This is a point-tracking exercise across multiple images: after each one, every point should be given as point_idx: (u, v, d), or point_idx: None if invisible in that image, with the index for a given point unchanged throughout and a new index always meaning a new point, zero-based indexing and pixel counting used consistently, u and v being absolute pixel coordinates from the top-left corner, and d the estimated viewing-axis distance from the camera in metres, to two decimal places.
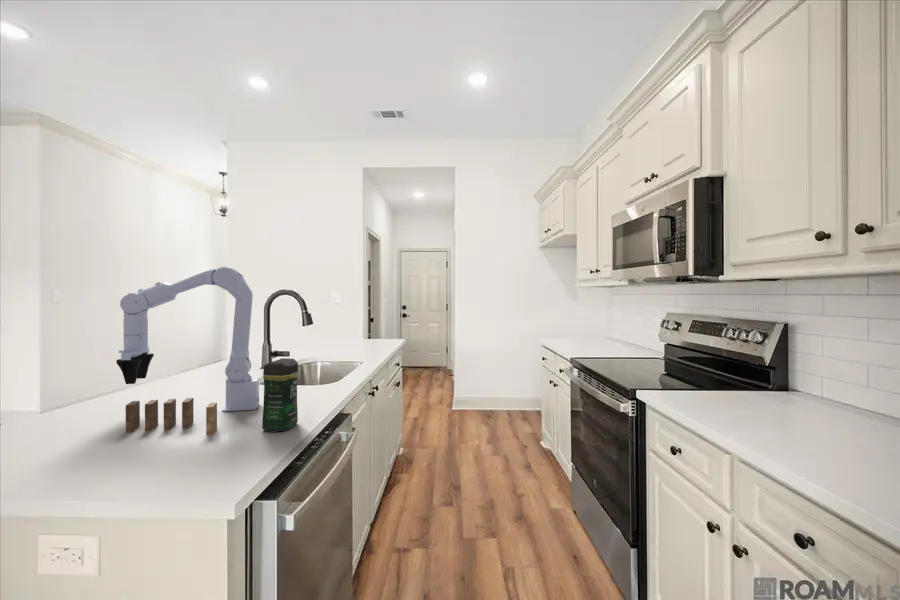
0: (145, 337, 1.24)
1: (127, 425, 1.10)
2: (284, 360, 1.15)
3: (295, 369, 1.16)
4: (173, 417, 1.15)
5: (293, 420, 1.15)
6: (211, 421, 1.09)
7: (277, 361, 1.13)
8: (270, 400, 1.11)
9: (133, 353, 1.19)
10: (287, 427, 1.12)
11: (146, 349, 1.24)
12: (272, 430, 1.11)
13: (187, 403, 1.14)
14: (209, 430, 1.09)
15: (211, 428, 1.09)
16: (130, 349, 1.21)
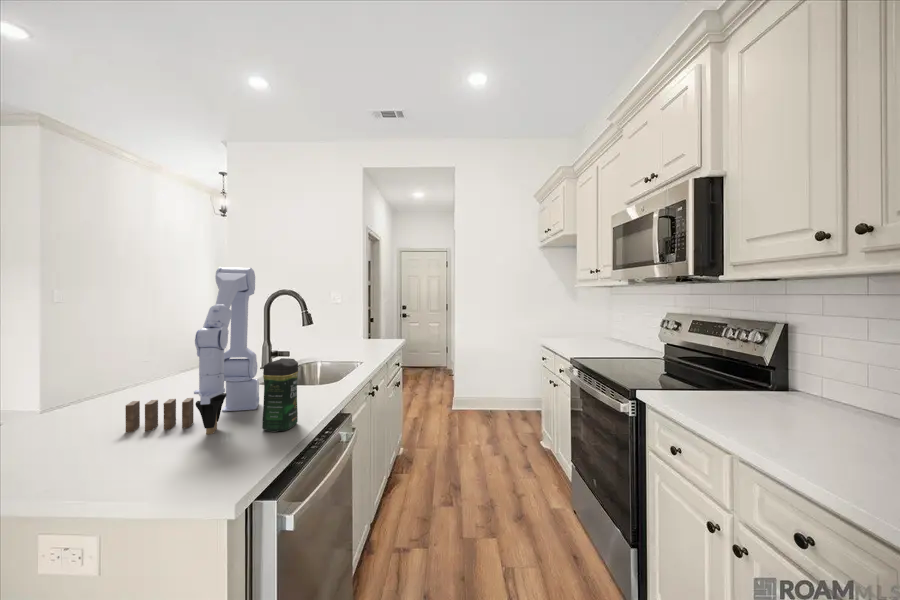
0: (222, 376, 1.11)
1: (127, 425, 1.10)
2: (284, 360, 1.15)
3: (295, 369, 1.16)
4: (173, 417, 1.15)
5: (293, 420, 1.15)
6: None
7: (277, 361, 1.13)
8: (270, 400, 1.11)
9: (212, 396, 1.06)
10: (287, 427, 1.12)
11: (223, 389, 1.11)
12: (272, 430, 1.11)
13: (187, 403, 1.14)
14: (209, 430, 1.09)
15: (211, 428, 1.09)
16: (207, 390, 1.08)
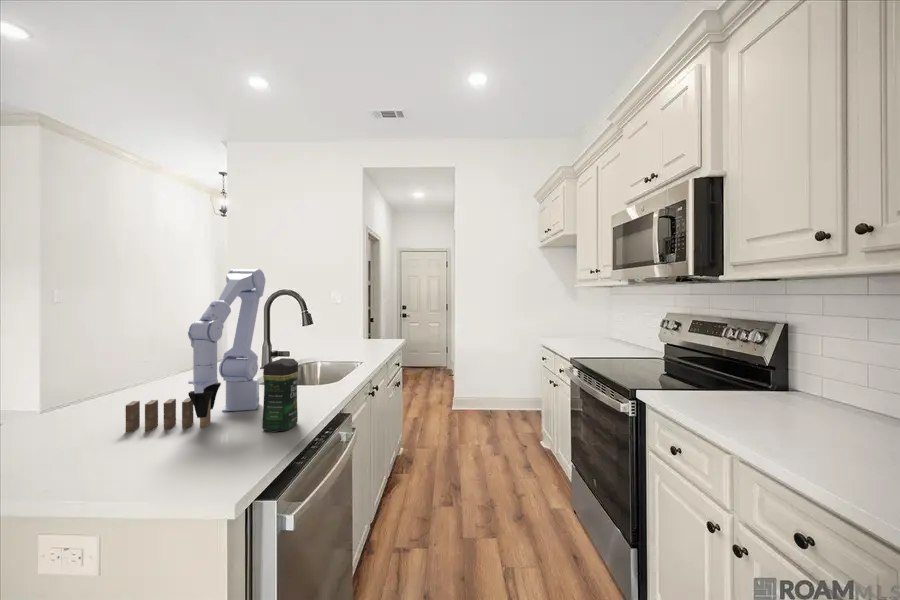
0: (215, 367, 1.17)
1: (127, 425, 1.10)
2: (284, 360, 1.15)
3: (295, 369, 1.16)
4: (173, 417, 1.15)
5: (293, 420, 1.15)
6: None
7: (277, 361, 1.13)
8: (270, 400, 1.11)
9: (205, 385, 1.12)
10: (287, 427, 1.12)
11: (216, 379, 1.17)
12: (272, 430, 1.11)
13: (187, 403, 1.14)
14: (203, 423, 1.15)
15: (204, 421, 1.15)
16: (201, 380, 1.14)
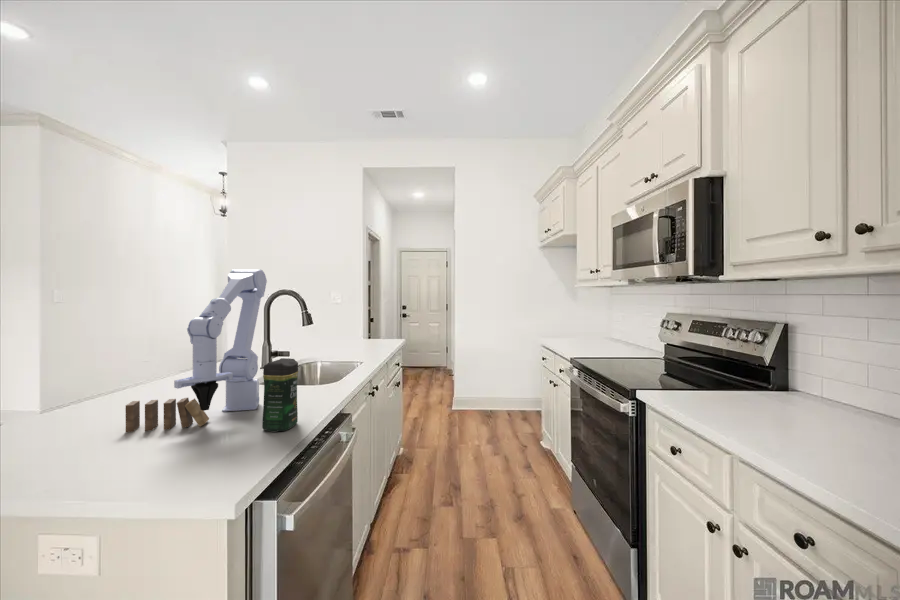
0: (206, 364, 1.15)
1: (127, 425, 1.10)
2: (284, 360, 1.15)
3: (295, 369, 1.16)
4: (173, 417, 1.15)
5: (293, 420, 1.15)
6: (197, 414, 1.15)
7: (277, 361, 1.13)
8: (270, 400, 1.11)
9: (185, 381, 1.12)
10: (287, 427, 1.12)
11: (207, 377, 1.15)
12: (272, 430, 1.11)
13: (182, 403, 1.13)
14: (200, 422, 1.15)
15: (200, 419, 1.15)
16: (193, 376, 1.15)
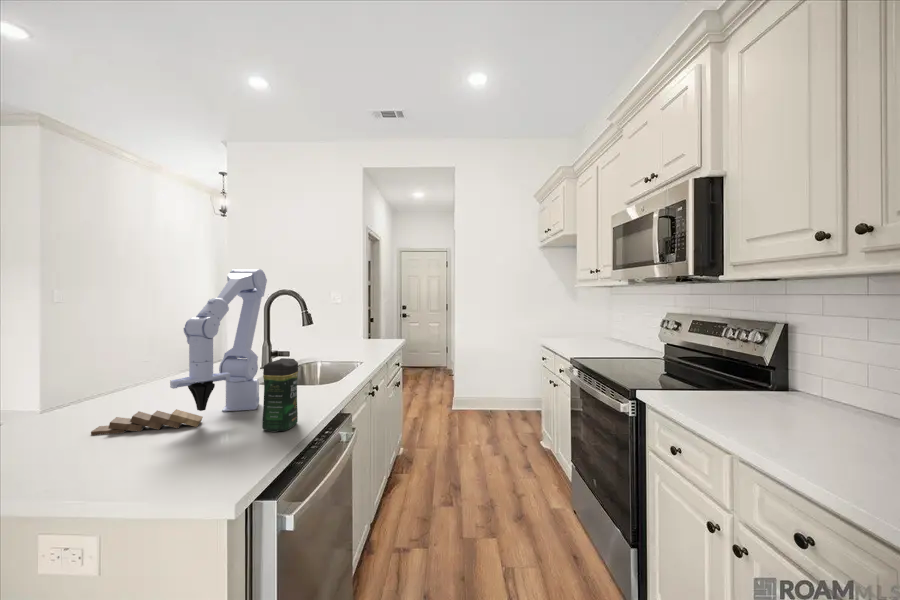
0: (202, 365, 1.14)
1: None
2: (284, 360, 1.15)
3: (295, 369, 1.16)
4: None
5: (293, 420, 1.15)
6: (185, 419, 1.14)
7: (277, 361, 1.13)
8: (270, 400, 1.11)
9: (181, 381, 1.12)
10: (287, 427, 1.12)
11: (203, 378, 1.14)
12: (272, 430, 1.11)
13: (152, 416, 1.11)
14: (194, 423, 1.15)
15: (193, 421, 1.14)
16: (189, 376, 1.15)
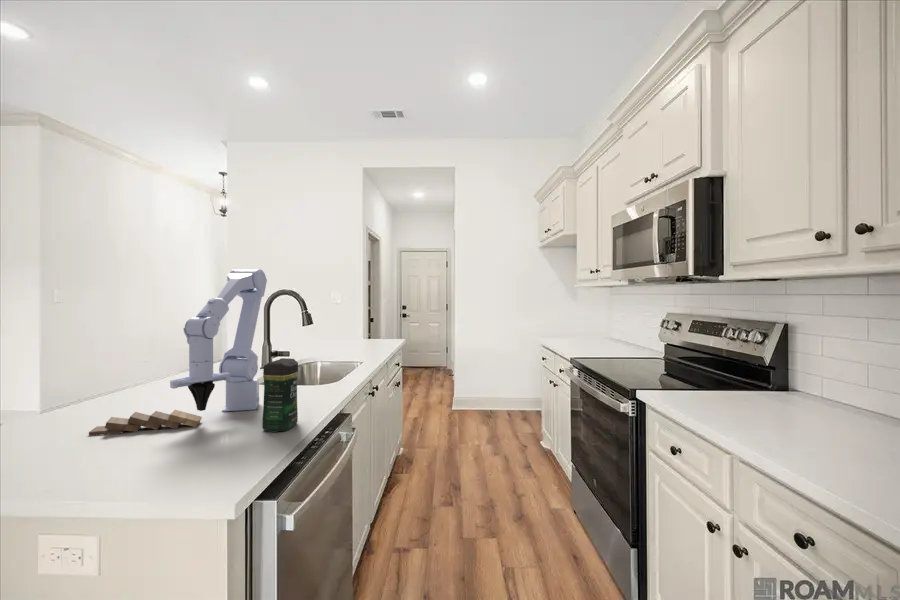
0: (202, 365, 1.14)
1: None
2: (284, 360, 1.15)
3: (295, 369, 1.16)
4: None
5: (293, 420, 1.15)
6: (184, 419, 1.14)
7: (277, 361, 1.13)
8: (270, 400, 1.11)
9: (181, 381, 1.12)
10: (287, 427, 1.12)
11: (203, 378, 1.14)
12: (272, 430, 1.11)
13: (151, 417, 1.11)
14: (193, 423, 1.14)
15: (191, 421, 1.14)
16: (189, 376, 1.15)
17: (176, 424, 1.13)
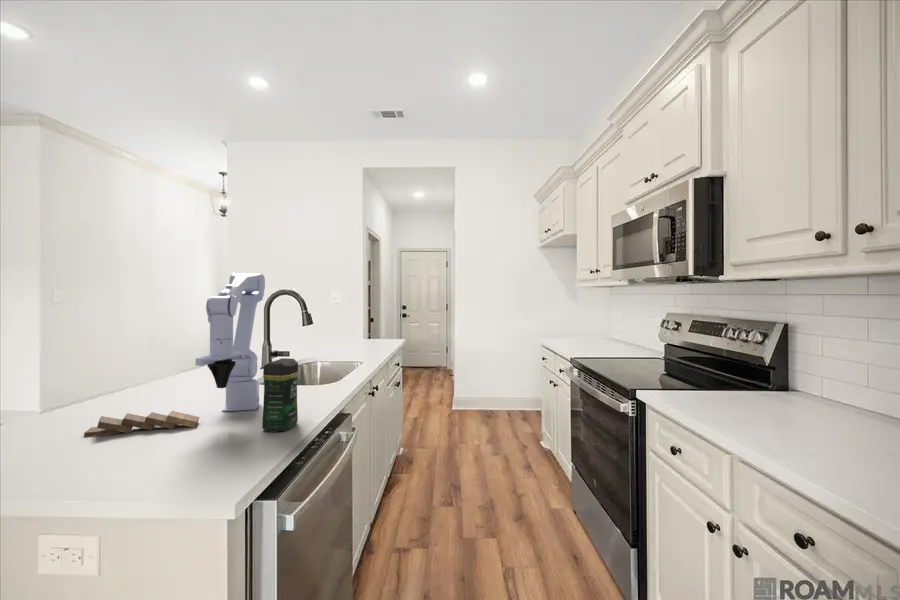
0: (226, 342, 1.16)
1: None
2: (284, 360, 1.15)
3: (295, 369, 1.16)
4: None
5: (293, 420, 1.15)
6: (182, 420, 1.13)
7: (277, 361, 1.13)
8: (270, 400, 1.11)
9: (207, 359, 1.12)
10: (287, 427, 1.12)
11: (227, 355, 1.16)
12: (272, 430, 1.11)
13: (147, 418, 1.11)
14: (191, 423, 1.14)
15: (189, 421, 1.14)
16: (211, 354, 1.15)
17: (173, 425, 1.13)
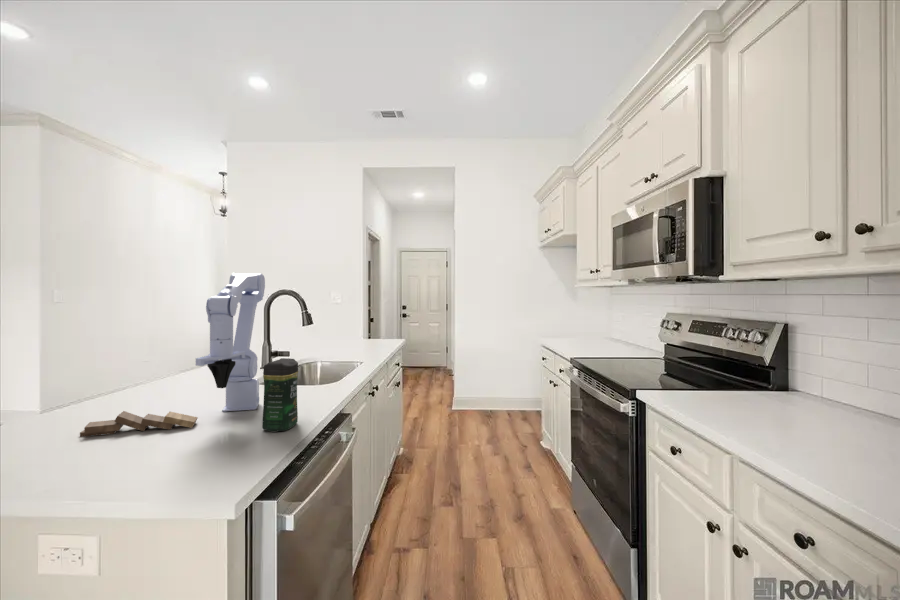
0: (226, 342, 1.16)
1: None
2: (284, 360, 1.15)
3: (295, 369, 1.16)
4: (139, 419, 1.12)
5: (293, 420, 1.15)
6: (180, 420, 1.13)
7: (277, 361, 1.13)
8: (270, 400, 1.11)
9: (207, 359, 1.12)
10: (287, 427, 1.12)
11: (227, 355, 1.16)
12: (272, 430, 1.11)
13: (143, 420, 1.10)
14: (189, 424, 1.14)
15: (187, 422, 1.13)
16: (211, 354, 1.15)
17: (170, 425, 1.12)
